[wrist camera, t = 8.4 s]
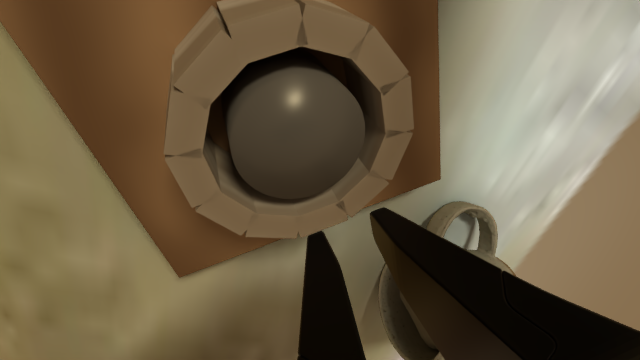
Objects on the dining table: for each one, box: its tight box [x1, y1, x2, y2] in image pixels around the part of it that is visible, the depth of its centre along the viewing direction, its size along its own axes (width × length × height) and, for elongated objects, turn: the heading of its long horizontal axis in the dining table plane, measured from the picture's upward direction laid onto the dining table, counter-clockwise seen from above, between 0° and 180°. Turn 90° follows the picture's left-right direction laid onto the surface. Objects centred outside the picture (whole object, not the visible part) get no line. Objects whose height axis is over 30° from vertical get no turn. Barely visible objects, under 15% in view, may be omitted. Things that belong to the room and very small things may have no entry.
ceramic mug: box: [379, 201, 516, 360], centre depth 27 cm, size 11×8×8 cm
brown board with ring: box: [0, 0, 441, 278], centre depth 16 cm, size 16×16×6 cm
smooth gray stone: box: [221, 47, 365, 199], centre depth 15 cm, size 5×5×4 cm
